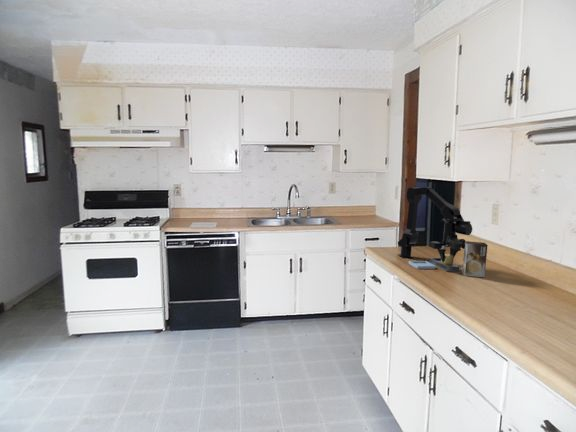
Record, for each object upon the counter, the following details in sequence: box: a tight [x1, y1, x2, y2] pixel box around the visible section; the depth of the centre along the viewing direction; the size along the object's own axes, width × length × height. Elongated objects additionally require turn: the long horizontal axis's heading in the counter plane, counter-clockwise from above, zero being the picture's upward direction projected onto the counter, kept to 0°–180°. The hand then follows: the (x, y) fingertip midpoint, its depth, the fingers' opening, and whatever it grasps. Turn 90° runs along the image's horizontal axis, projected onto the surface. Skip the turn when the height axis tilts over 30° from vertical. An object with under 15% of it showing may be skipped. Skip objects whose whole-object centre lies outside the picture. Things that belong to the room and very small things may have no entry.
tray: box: [408, 260, 437, 270], centre depth 204 cm, size 10×10×2 cm
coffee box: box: [461, 240, 488, 278], centre depth 191 cm, size 9×6×16 cm
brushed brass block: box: [441, 253, 455, 265], centre depth 202 cm, size 4×4×7 cm
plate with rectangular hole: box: [427, 257, 461, 273], centre depth 205 cm, size 18×7×2 cm, turn 9°
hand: (446, 261), depth 202 cm, fingers closed on brushed brass block, 4 cm apart
